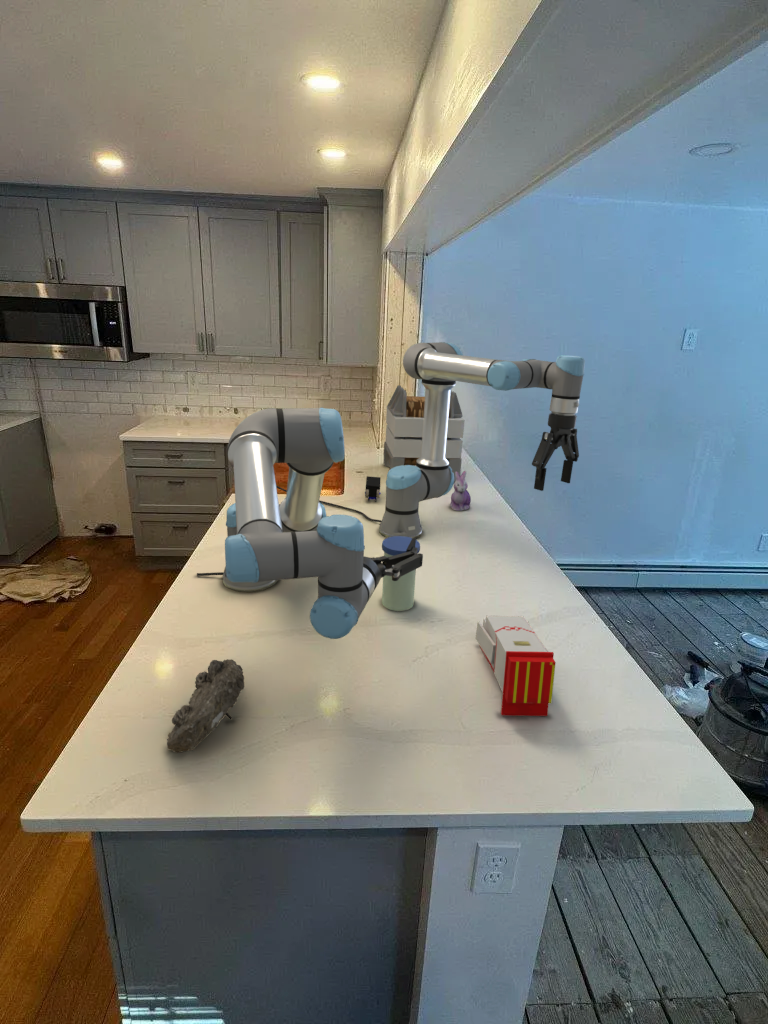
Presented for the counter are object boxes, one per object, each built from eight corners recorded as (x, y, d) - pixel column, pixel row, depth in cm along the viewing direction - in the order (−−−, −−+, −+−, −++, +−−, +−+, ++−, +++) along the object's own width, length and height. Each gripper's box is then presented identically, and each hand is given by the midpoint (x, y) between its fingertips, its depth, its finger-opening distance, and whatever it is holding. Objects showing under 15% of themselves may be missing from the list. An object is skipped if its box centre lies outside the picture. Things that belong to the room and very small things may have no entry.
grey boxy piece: (382, 463, 289) (386, 382, 275) (445, 464, 293) (451, 384, 279) (390, 482, 257) (394, 392, 243) (460, 483, 261) (468, 394, 247)
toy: (522, 601, 137) (564, 658, 107) (517, 652, 139) (557, 722, 110) (472, 600, 136) (500, 657, 107) (468, 651, 139) (495, 721, 110)
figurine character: (380, 506, 230) (380, 491, 243) (381, 489, 227) (381, 475, 240) (364, 506, 230) (364, 491, 243) (364, 489, 226) (365, 474, 240)
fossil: (192, 660, 117) (244, 628, 112) (224, 691, 120) (276, 661, 115) (142, 746, 98) (202, 712, 93) (182, 779, 101) (242, 748, 96)
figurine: (457, 512, 223) (460, 476, 218) (443, 504, 231) (446, 469, 226) (477, 509, 227) (480, 473, 222) (462, 502, 236) (465, 467, 230)
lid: (427, 550, 148) (428, 544, 147) (401, 560, 141) (401, 554, 140) (400, 538, 154) (400, 533, 154) (373, 547, 148) (374, 542, 147)
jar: (420, 604, 153) (424, 545, 147) (397, 614, 147) (401, 554, 142) (397, 592, 159) (400, 536, 153) (375, 602, 153) (377, 543, 147)
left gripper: (293, 589, 109) (329, 548, 129) (421, 609, 104) (438, 563, 123) (293, 554, 107) (329, 517, 126) (423, 572, 101) (440, 531, 121)
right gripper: (548, 419, 148) (537, 496, 155) (598, 411, 163) (586, 482, 171) (525, 414, 153) (515, 489, 160) (575, 407, 169) (564, 476, 176)
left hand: (383, 540), depth 125 cm, fingers open, 13 cm apart
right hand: (552, 485), depth 166 cm, fingers open, 13 cm apart
